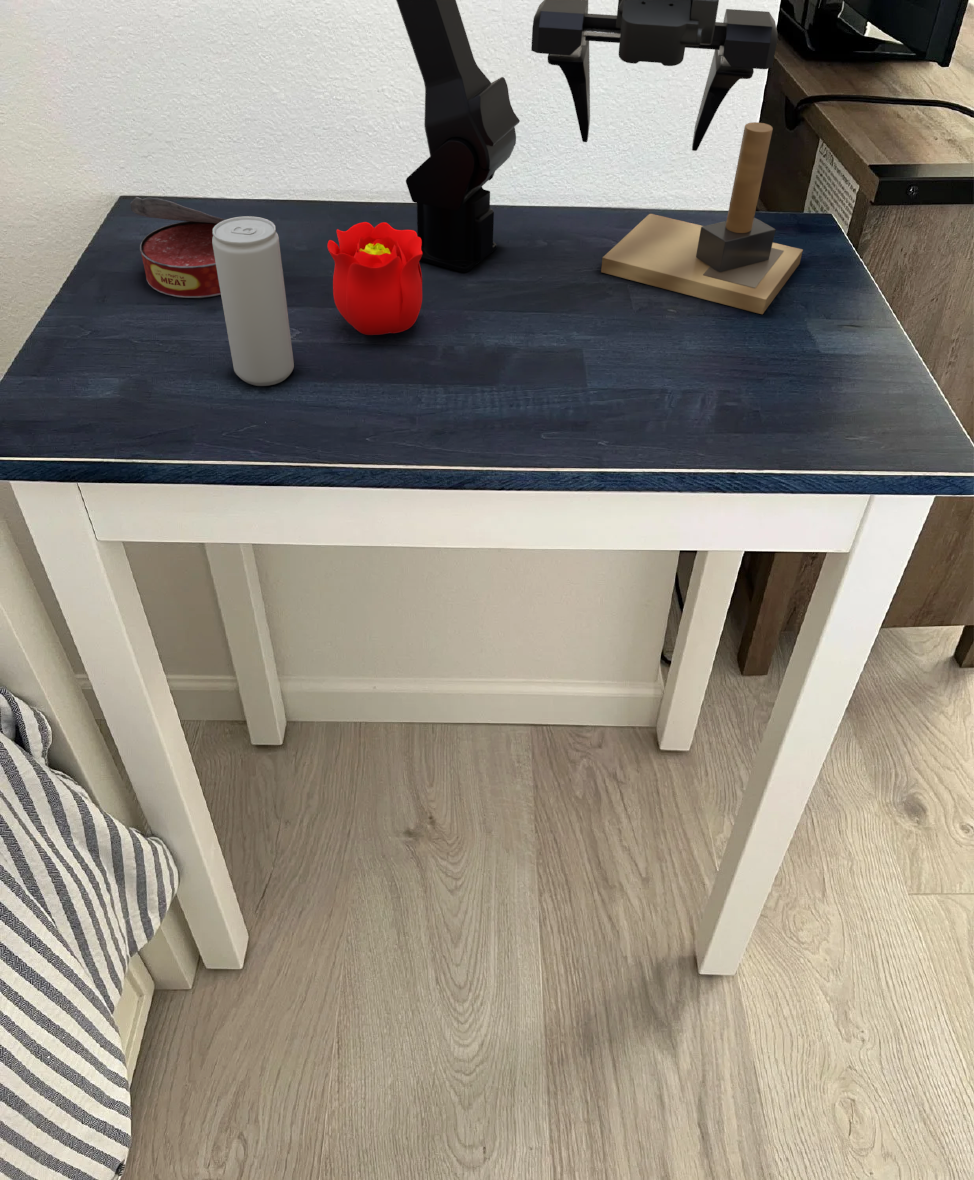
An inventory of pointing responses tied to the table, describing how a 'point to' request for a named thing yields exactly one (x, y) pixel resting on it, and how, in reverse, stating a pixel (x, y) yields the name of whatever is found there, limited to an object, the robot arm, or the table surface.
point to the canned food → (179, 250)
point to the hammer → (741, 211)
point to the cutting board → (696, 265)
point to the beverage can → (254, 299)
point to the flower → (377, 277)
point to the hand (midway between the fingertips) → (639, 145)
